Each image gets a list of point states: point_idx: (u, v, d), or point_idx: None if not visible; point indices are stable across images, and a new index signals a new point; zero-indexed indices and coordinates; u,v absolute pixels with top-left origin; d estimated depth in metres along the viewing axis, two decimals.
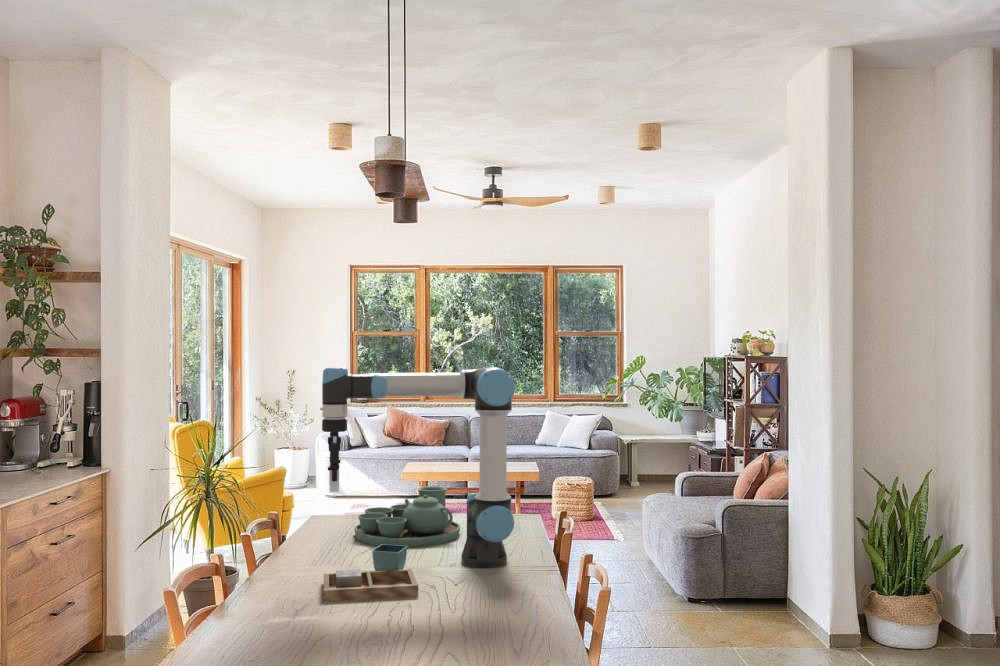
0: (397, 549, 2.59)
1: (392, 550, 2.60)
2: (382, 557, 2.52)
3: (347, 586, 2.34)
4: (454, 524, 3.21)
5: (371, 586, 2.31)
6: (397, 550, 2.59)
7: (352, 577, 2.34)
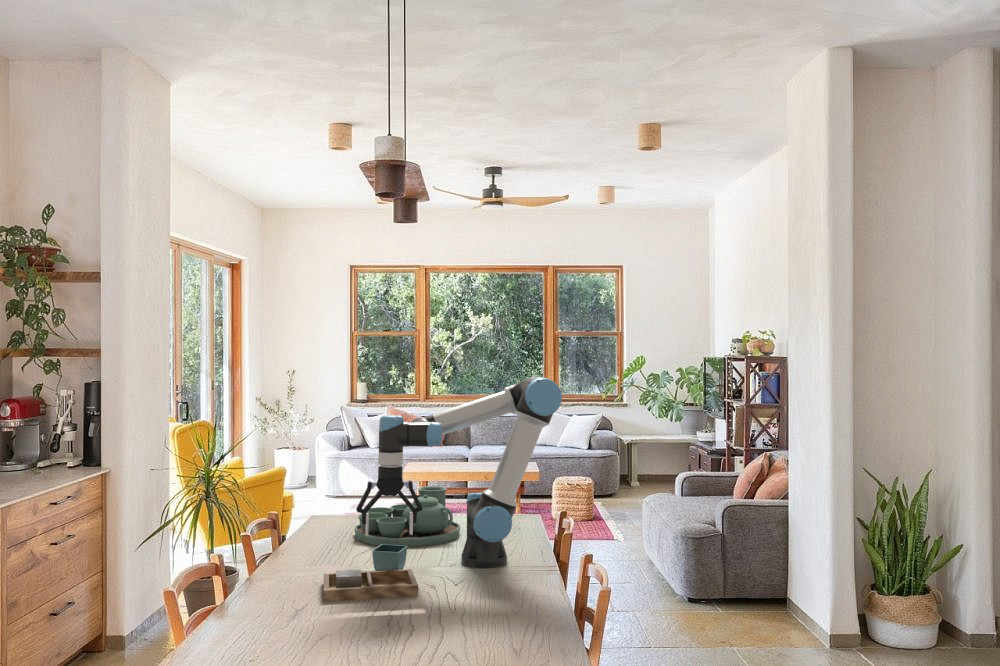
0: (397, 549, 2.59)
1: (392, 550, 2.60)
2: (382, 557, 2.52)
3: (347, 586, 2.34)
4: (454, 524, 3.21)
5: (371, 586, 2.31)
6: (397, 550, 2.59)
7: (352, 577, 2.34)
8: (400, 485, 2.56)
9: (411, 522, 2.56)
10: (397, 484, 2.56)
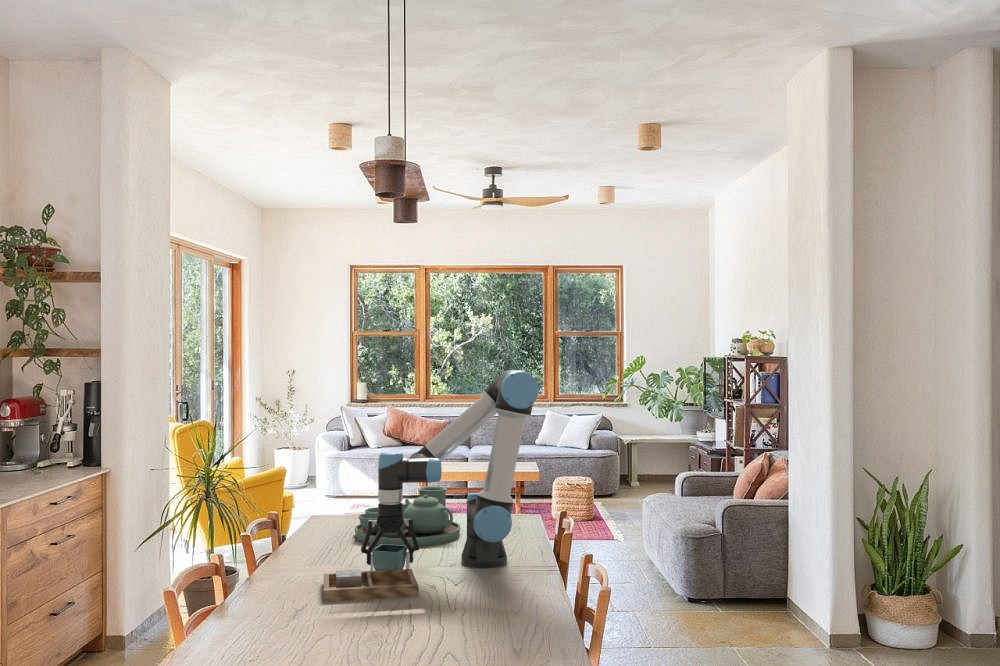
0: (397, 549, 2.59)
1: (391, 549, 2.60)
2: (382, 557, 2.52)
3: (347, 586, 2.34)
4: (454, 524, 3.22)
5: (371, 586, 2.31)
6: (397, 550, 2.59)
7: (352, 577, 2.34)
8: (400, 522, 2.56)
9: (408, 562, 2.56)
10: (397, 520, 2.55)
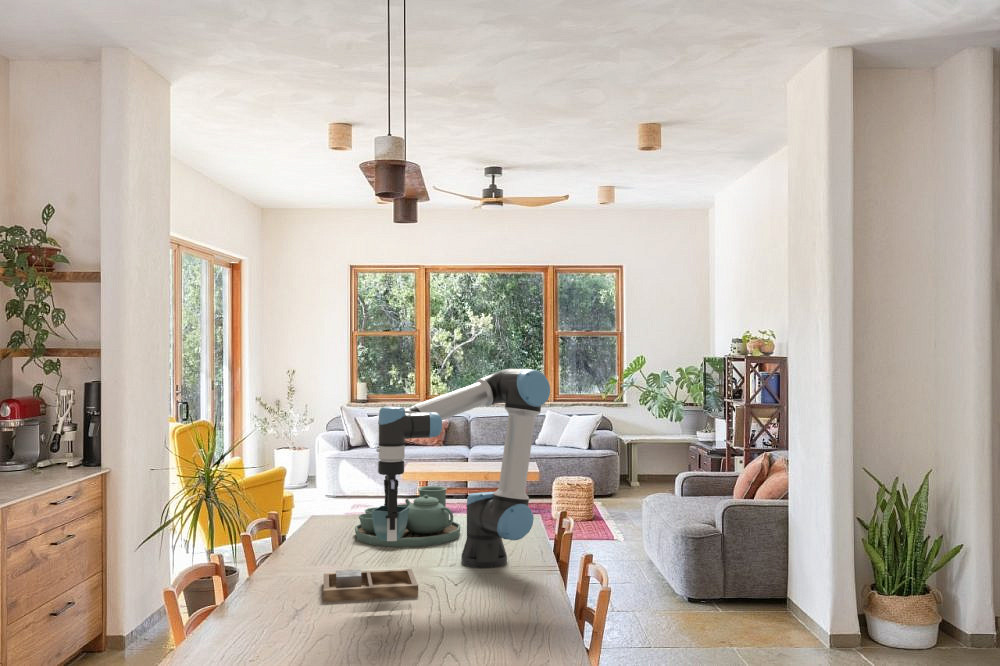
0: None
1: None
2: (403, 516, 2.39)
3: (347, 586, 2.34)
4: (454, 524, 3.22)
5: (371, 586, 2.31)
6: None
7: (352, 577, 2.34)
8: None
9: None
10: None
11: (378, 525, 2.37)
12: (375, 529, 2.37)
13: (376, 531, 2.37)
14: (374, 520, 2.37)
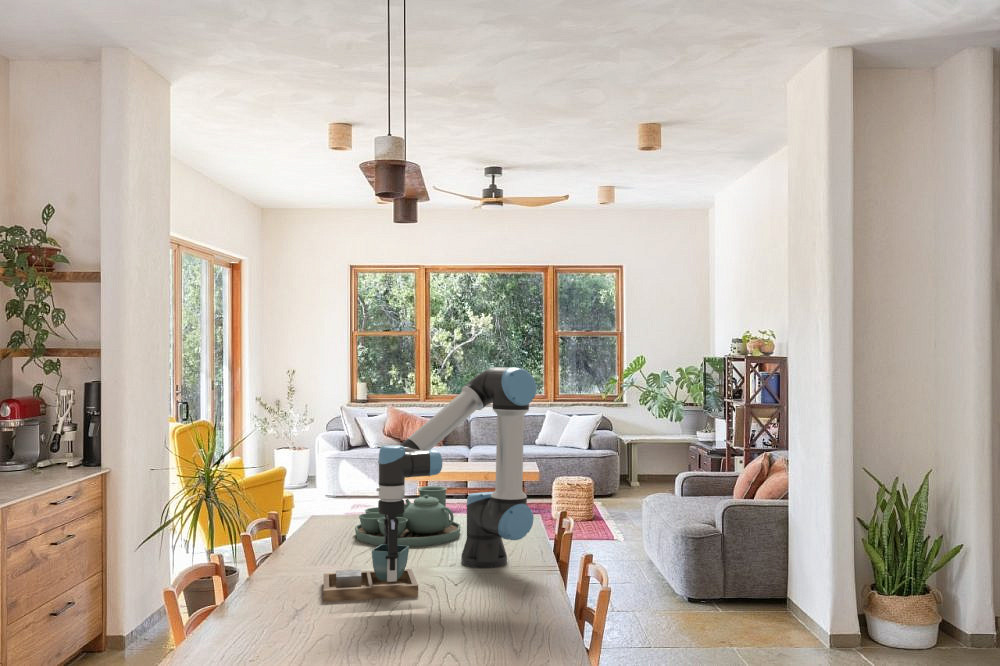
0: (379, 550, 2.42)
1: None
2: (403, 555, 2.38)
3: (347, 586, 2.34)
4: (454, 524, 3.22)
5: (371, 586, 2.31)
6: None
7: (352, 577, 2.34)
8: None
9: None
10: None
11: (378, 565, 2.36)
12: (375, 569, 2.37)
13: (376, 571, 2.37)
14: (374, 560, 2.36)
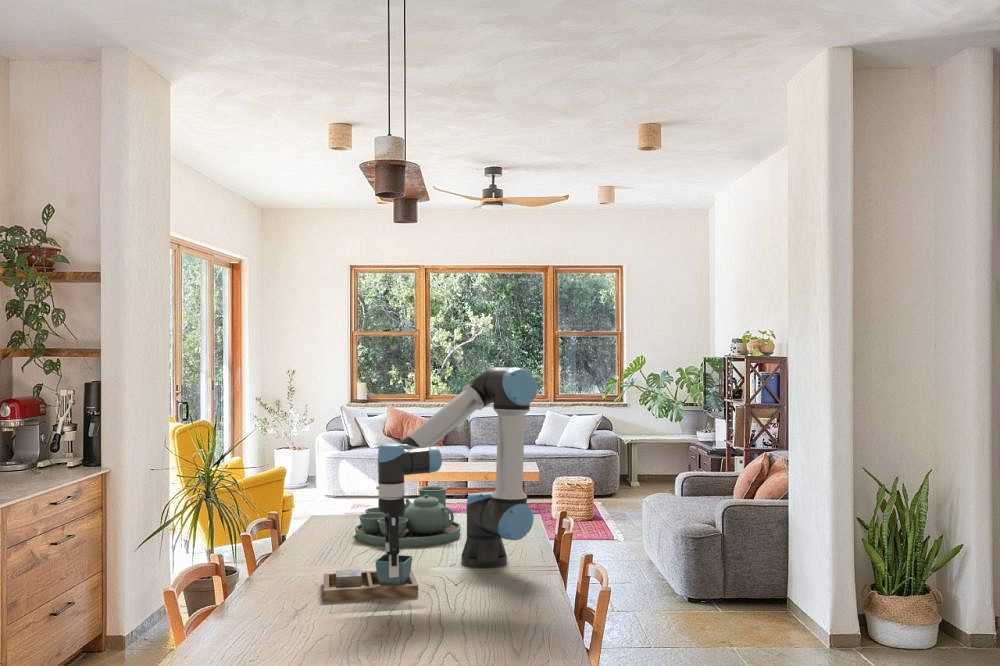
0: (382, 561, 2.41)
1: None
2: (407, 565, 2.37)
3: (347, 586, 2.34)
4: (454, 524, 3.22)
5: (371, 586, 2.31)
6: None
7: (352, 577, 2.34)
8: None
9: None
10: None
11: (382, 575, 2.35)
12: (379, 579, 2.35)
13: (380, 581, 2.36)
14: (378, 570, 2.35)
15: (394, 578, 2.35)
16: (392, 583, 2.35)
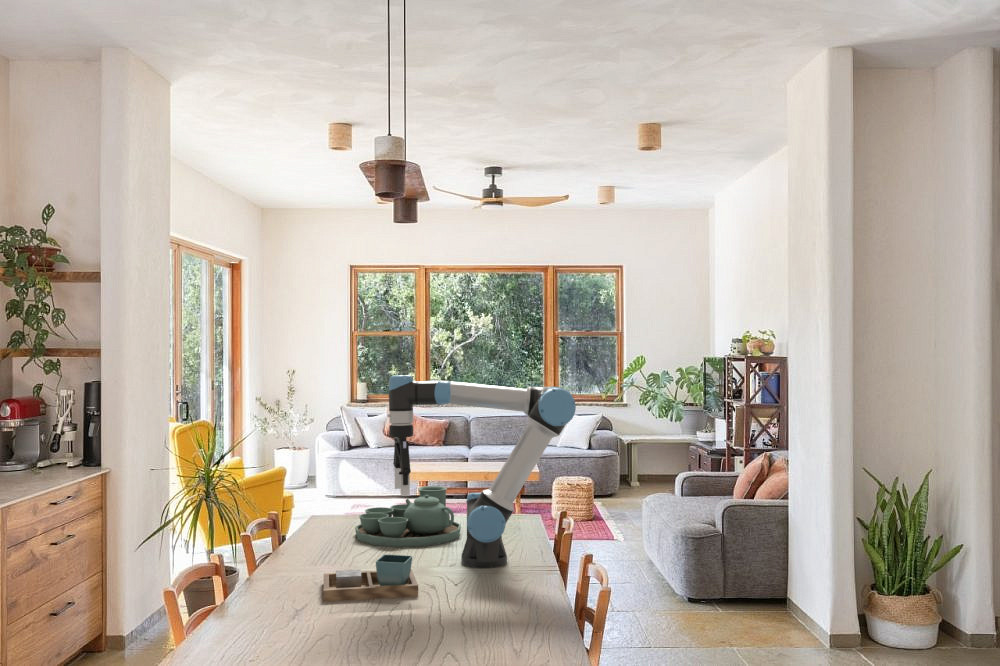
0: (382, 561, 2.41)
1: None
2: (407, 566, 2.37)
3: (347, 586, 2.34)
4: (455, 524, 3.22)
5: (371, 586, 2.31)
6: (382, 562, 2.40)
7: (352, 577, 2.34)
8: None
9: None
10: None
11: (382, 576, 2.35)
12: (379, 580, 2.35)
13: (380, 582, 2.35)
14: (378, 571, 2.35)
15: (395, 578, 2.35)
16: (392, 583, 2.35)
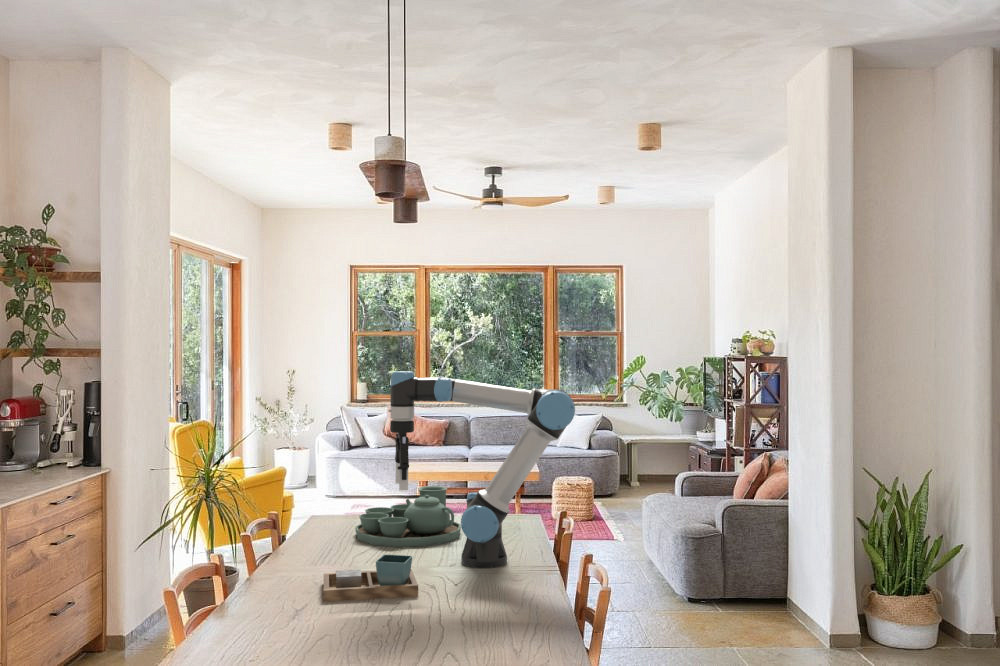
0: (382, 561, 2.41)
1: None
2: (407, 566, 2.37)
3: (347, 586, 2.34)
4: (455, 524, 3.22)
5: (371, 586, 2.31)
6: (382, 562, 2.40)
7: (352, 577, 2.34)
8: None
9: None
10: None
11: (382, 576, 2.35)
12: (379, 580, 2.35)
13: (380, 582, 2.35)
14: (378, 571, 2.35)
15: (395, 578, 2.35)
16: (392, 583, 2.35)
